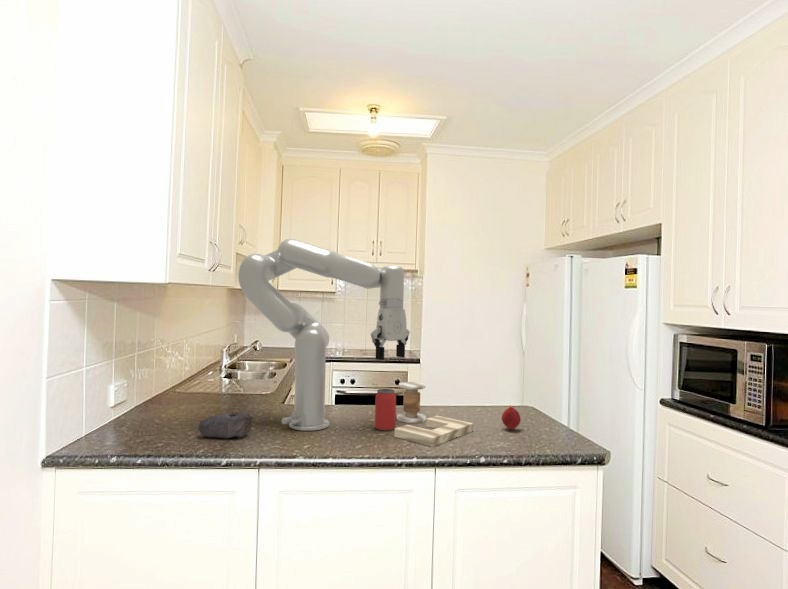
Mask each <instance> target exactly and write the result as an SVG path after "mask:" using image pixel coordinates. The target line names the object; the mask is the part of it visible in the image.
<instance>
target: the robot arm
mask: <svg viewBox="0 0 788 589" xmlns="http://www.w3.org/2000/svg"><path fill="white" fill-rule="evenodd" d="M238 268H239V269H238V278H237V279H238V283H239V286H240V289H241V291H242V293H243V294H244V296H245V297H246V298H247V299H248V300H249V301H250V302H251V304H253V306H255V307H256V308H257V310H259V311H260V313H261V314H262V315H264V317H265V318H267V319H268V321H269V322H271V324H272V325H274V327H275V328H276V329H278V330H279V331H280V332H282V333H289V334H290V336H291V337H292V338H294V358H295V359H294V360H295V362H294V363H295V364H294V365H295V366H294V373H295V374H294V375H295V376H294V378H295V379H294V411H292V412H291V415H289V416H288V417H287V416H286V417H282V419H281V424H282V425H288V426H289V428H290V429H293V430H294V431H295V430H296V431H304V432H305V431H306V432H307V431H308V432H309V431H311V432H312V431H320V430H324V429H326V428H328V427H329V426H330V420H328V419H326V418H325V413H326V412H325V410H326V409H325V408H326V407H325V406H326V405H325V404H326V374H327V373H326V371H327V370H326V369H327V368H326V367H327V365H326V357H327V356H326V348H327V347H328V346H329V343H330V336H329V332H328V331H327V329H326V328H325V327H324V326H323V325H322V324H321V323H320V322H319V321H318V320H317V319H316V318H315V317H313V315H312V314H310V313H309V311H308V310H307V309H305V308H304V307H303V306H302V305H300V304H299V303H295V302H292V301H290V300H288V299H287V298H286V297H285V296H284V295H283V294H282V293H281V292H280V291H279V290H278V289H277V288H276V287H275V286H273V285H272V284H271V283H270V281H272V280H274V279H276V278H278V277H280V276H283V275H285V274H287V273H289V272H292V271H293V270H295V269H299V270H303V271H306V272H309V273H311V274H315V275H318V276H321V277H324V278H332V279H336V280H339V281H342V282H346V283H348V284H352V285H354V286H355V285H356V286H358V287H361V288H363V289H370V290H371V289H377V288H378V289H379V290H380V291H379V292H380V293H379V301H378V305H379V309H378V313H377V319H376V328H375V329H374V330H373V331H372V332H371V333H370V337H371V341H372V343H373V344H374V347H375V360H380V361H383V360H385V346H384V345H385V344H386V342H387V341H388V342H394V341H395V342H396V343H397V344H396V347H395V348H396V352H395V356H396V357H397V358H405V357H406V345H407V342H408V340H409V336H410V333H411V331H410V330H409V329H408V328H407V325H408V324H407V316H406V310H405V309H404V294H405V293H404V292H405V290H404V289H405V288H404V287H405V284H404V283H405V270H404V268H403V267H401V266H397V265H386V266H383V267H380V266H375V265H374V264H372V263H368V262H365V261H362V260H360V259H359V260H358V259H356V258H353V257H349V256H347V255H343V254H340V253H337V252H336V251H333V250H330V249H325V248H324V247H320V246H316V245H314V244H310V243H307V242H303V241H301V240H297V239H293V238H287V239H284V240H282V241H281V242H280V244H279V246H278V248H277V249H275V250H274V251H272V252H269V253H266V254H262V253H252V254H249V255H248V256H245V258H243V259H242V261H241V263H240V265H239V267H238Z"/></svg>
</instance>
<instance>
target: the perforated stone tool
mask: <svg viewBox="0 0 788 589" xmlns="http://www.w3.org/2000/svg"><path fill="white" fill-rule="evenodd" d="M252 418H253V417H252V415H250V413H239V412H238V413H231V412H230V413H221V414H216V415H214V414H213V415H211V416H208V417H204V418H203V419H202V420H201V421H199V423H198V427H197V430H198V432H199V433H200V434H201V435H203V436H204V437H207V438H217V439H232V438H235V437H236V438H238V439H240V438H243V437H244V436H246V435H248V434H249V432H250V431H251V429H252V427H253V426H252V424H253V421H252V420H253V419H252Z"/></svg>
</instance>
